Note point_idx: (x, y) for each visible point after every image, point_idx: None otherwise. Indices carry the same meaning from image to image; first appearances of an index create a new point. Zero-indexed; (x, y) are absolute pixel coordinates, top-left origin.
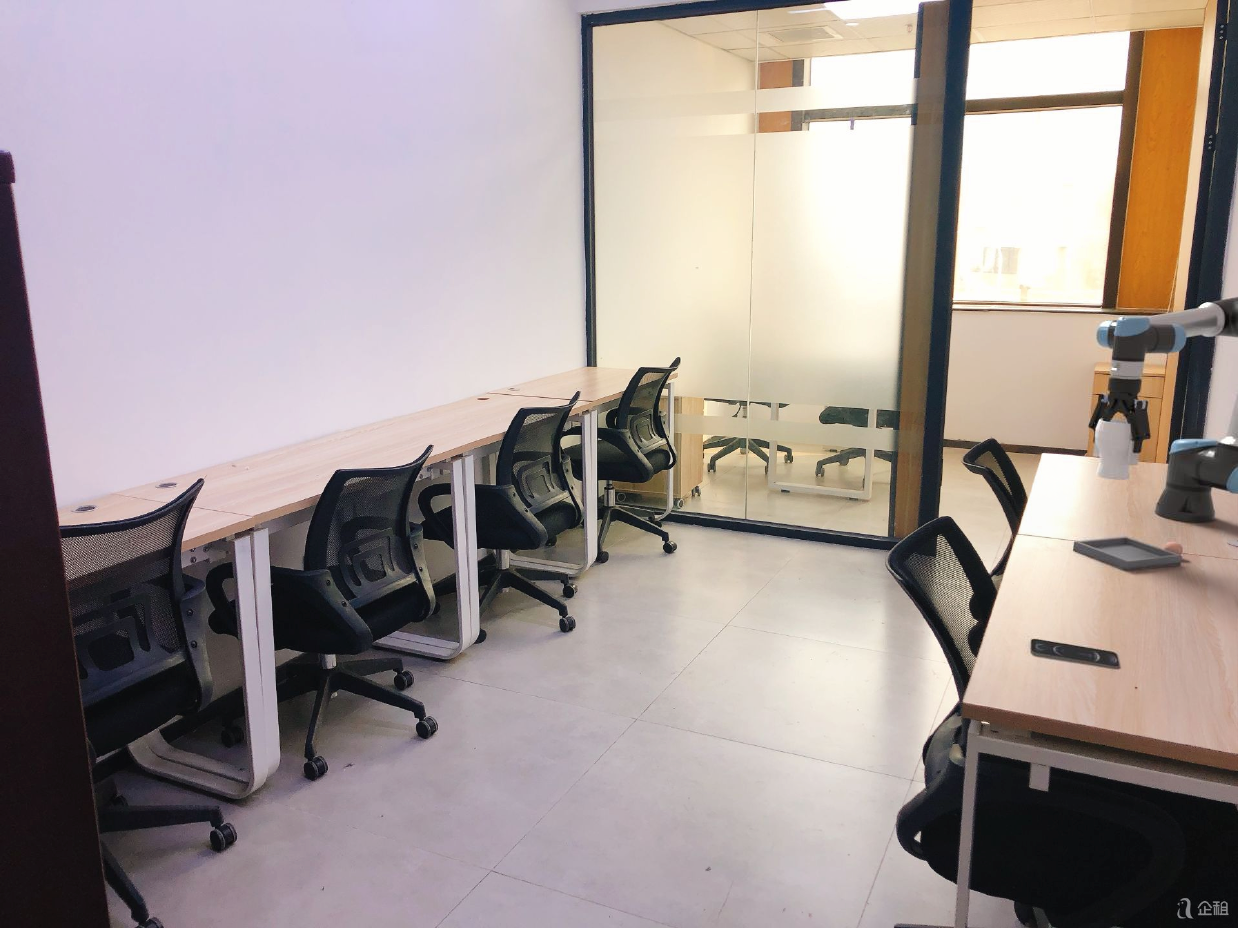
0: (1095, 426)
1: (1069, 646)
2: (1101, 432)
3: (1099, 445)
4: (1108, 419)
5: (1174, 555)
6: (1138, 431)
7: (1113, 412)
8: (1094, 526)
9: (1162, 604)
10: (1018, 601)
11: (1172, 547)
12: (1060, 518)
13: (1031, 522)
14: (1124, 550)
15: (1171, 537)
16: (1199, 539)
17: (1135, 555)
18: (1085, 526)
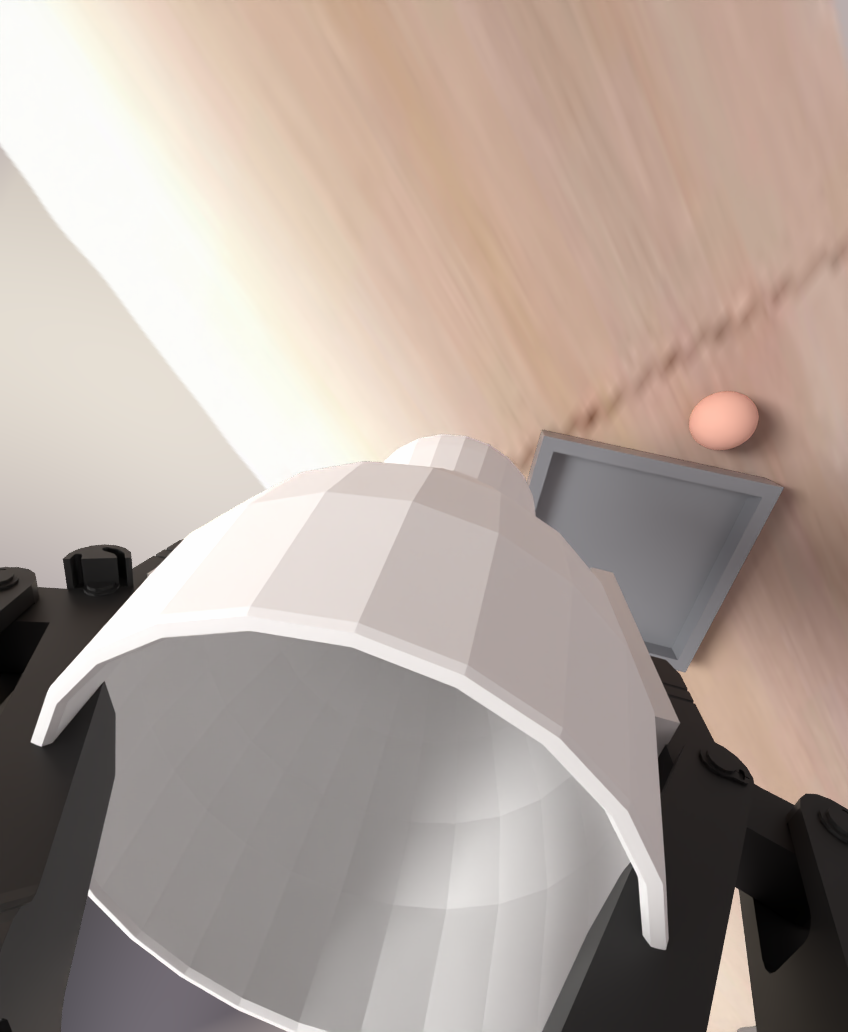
0: None
1: None
2: (336, 879)
3: (356, 735)
4: (93, 786)
5: (763, 509)
6: (749, 971)
7: (34, 986)
8: (351, 303)
9: (845, 798)
10: None
11: (732, 447)
12: (236, 323)
13: (247, 459)
14: (591, 521)
15: (590, 138)
16: (685, 22)
17: (639, 540)
18: (339, 336)
